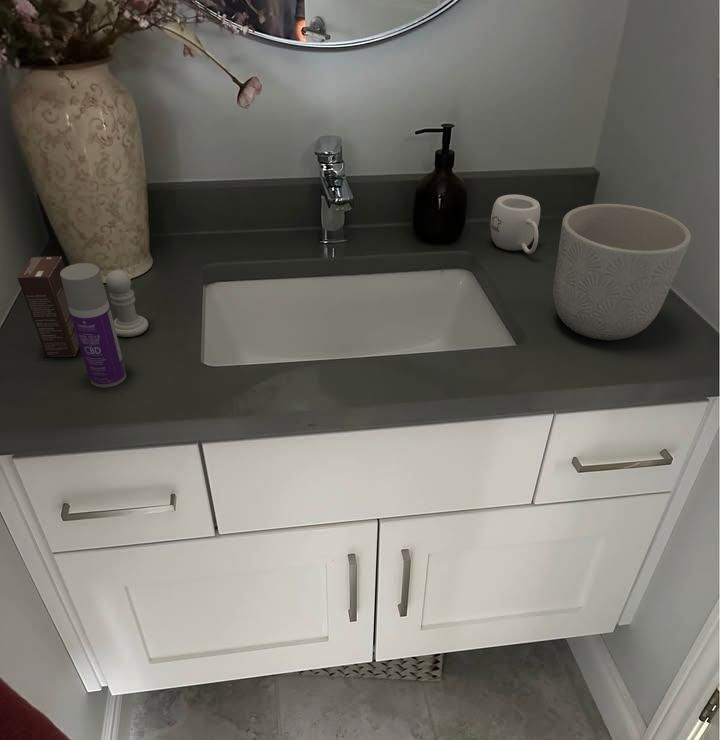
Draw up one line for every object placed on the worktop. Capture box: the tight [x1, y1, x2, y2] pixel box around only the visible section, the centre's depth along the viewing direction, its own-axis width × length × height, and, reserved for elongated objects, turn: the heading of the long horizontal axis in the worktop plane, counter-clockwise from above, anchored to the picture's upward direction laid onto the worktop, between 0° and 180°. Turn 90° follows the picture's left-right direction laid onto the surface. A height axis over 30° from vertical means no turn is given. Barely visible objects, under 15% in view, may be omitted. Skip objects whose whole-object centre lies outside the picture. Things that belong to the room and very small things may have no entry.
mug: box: [489, 194, 541, 255], centre depth 122 cm, size 12×8×8 cm
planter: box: [552, 203, 692, 341], centre depth 100 cm, size 17×17×15 cm
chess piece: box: [105, 269, 149, 338], centre depth 98 cm, size 5×5×9 cm
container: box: [60, 262, 127, 389], centre depth 87 cm, size 5×5×15 cm
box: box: [17, 255, 81, 358], centre depth 93 cm, size 6×4×12 cm
